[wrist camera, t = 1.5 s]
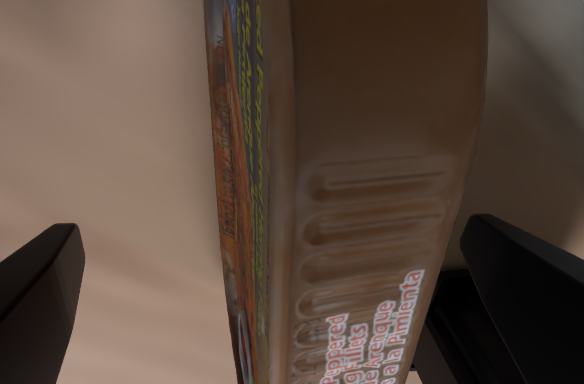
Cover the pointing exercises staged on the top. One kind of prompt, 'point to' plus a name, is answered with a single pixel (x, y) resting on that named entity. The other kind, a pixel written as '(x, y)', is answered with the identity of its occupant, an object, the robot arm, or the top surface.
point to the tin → (339, 175)
